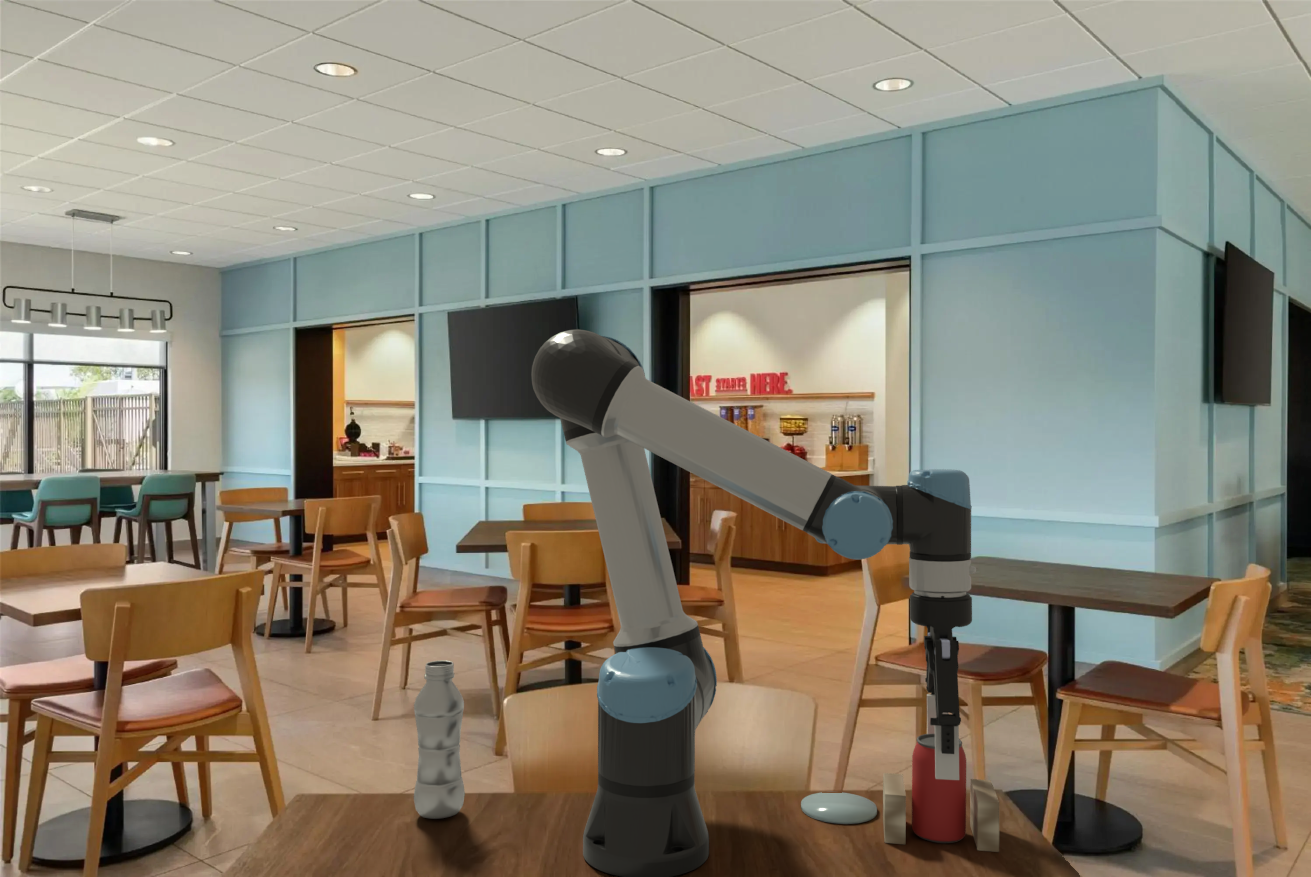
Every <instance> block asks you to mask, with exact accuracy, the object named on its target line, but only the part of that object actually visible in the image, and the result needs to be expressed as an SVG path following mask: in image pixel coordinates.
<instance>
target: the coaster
mask: <svg viewBox="0 0 1311 877" xmlns="http://www.w3.org/2000/svg"><path fill="white" fill-rule="evenodd" d="M800 809H801V811H802V813H804V814H805V815H806V816H808V817H809V818H812V819H814V820H817V821H820V822H824V823H830V824H837V825H838V824H839V825H855V824H862V823H865V822H868V821H871V820H873V819H874V818H876V816H877V815H878V807H877V805H876V803H875V802H873V801H872V800H870V799H869V798H866V797H864V796H862V795H858V794H853V793H849V792H842V793H822V792H817V793H812V794H809V795H806V796H805V797H803V798H802V800H801V802H800Z"/></svg>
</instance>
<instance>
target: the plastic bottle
mask: <svg viewBox="0 0 1311 877" xmlns="http://www.w3.org/2000/svg"><path fill="white" fill-rule="evenodd" d="M454 665H455V664H454V662H453V661H452V660H451V661H450V660H432V661H430V662H429V661H428V662H426V663H425V665H424V666H425V669H424V670H425V671H424V676H423V677H424V679H425V680H426V683H425V684H424V685H423V686H422V688H421V690H419V693H418V694H417V696H416V697H415V700H414V703H413V711H414V718H415V719H414V720H415V726H416V731H417V732H416V733H417V745H418V750H417V751H418V758H417V775H416V780H415V786H414V791H413V792H414V793H413V802H414V808H415V811H416V812H417V813H418V814H419V816H420V817H422V818H426V819H434V820H437V819H439V820H440V819H444V818H445V819H446V818H449V817H452V816H455V815H457V814H458V813H460V811H461V809H462V808H463V806H464V800H465V794H466V792H465V784H464V779H463V777H462V766H461V763H462V762H461V754H460V752H461V749H460V748H461V745H460V743H461V733H462V731H461V730H462V724H463V714H464V709H465V701H464V698H463V695H462V693H461V691H460V690H459V688H458V687H457V685H456V684H455V683H454V681H453V679H454V678H455V670H454V669H455V666H454Z"/></svg>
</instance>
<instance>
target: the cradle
mask: <svg viewBox="0 0 1311 877" xmlns="http://www.w3.org/2000/svg"><path fill="white" fill-rule="evenodd" d="M882 775H883V776H882V781H883V782H882V824H883V825H882V826H883V837H884V838H883V839H884V843H885V844H896V845H906V826H907V824H906V822H907V817H906V816H907V814H906V813H907V812H906V811H907V807H906V806H907V803H906V802H907V800H906V799H907V795H906V794H907V793H906V789H905V788H906V787H905V780H904V774H902V773H889V772H883V773H882ZM995 790H996V789H995V788H994V785H993V783H992V780H989V779H975V778H970V791H969V792H970V795H969V798H970V799H969V800H970V801H969V802H970V803H969V804H970V806H969V807H970V809H969V810H970V811H969V812H970V814H969V816H970V817H969V827H970V830H971V833H972V835H973V837H972V838H973V840H974V843H975V847H976V850H977V851H983V852H993V853H994V852H995V853H1000V801H999V798H998V795H997V793H996V791H995Z"/></svg>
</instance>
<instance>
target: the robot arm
mask: <svg viewBox="0 0 1311 877" xmlns="http://www.w3.org/2000/svg"><path fill="white" fill-rule="evenodd" d="M531 384H532V388H533V391H534V393H535V396H536V398H537V399H538V401H539V402H540V404H541V405H542V406H543V407H544V408H545V409H546V410H547V411H548V412H550V413H551V414H552V415H554V416H556V417H558V418H560V422H561V423H560V424H561V427H562V431H563V437H564V440H565V443H566V445H567V446H568V447H570V448H572V449H573V450H575V451H576V452H578V454H579V455H580V458H581V463H582V467H583V471H584V475H585V480H586V484H587V487H588V491H589V492H588V493H589V497H590V500H591V505H592V509H593V514H594V519H595V522H596V525H597V530H598V534H599V540H600V542H601V547H602V552H603V555H604V561H605V564H606V569H607V573H608V577H609V582H610V585H611V590H612V594H613V598H614V603H615V606H616V607H615V608H616V611H617V616H618V620H619V623H620V628H619V631H618V633H617V635H616V637H615V638H614V640H613V641H612V644H613V648H614V652H615V654H613V655H611V656H609V657H608V658H607V659H606V660H605V661H603V663H602V665H601V666H600V669H599V675H598V683H597V687H596V698H597V772H598V773H597V790H596V793H595V796H594V799H593V802H592V805H591V809H590V812H589V814H588V815H589V816H588V818H587V821H586V824H585V827H584V831H583V836H582V855H583V856H582V857H583V858H584V860H585V861H586V863H588V864H589V865H590V866H591V867H593V868H594V869H596V870H598V871H601V872H603V873H606V874H609V875H613V876H617V877H677V876H679V875H684V874H687V873H689V872H691V871H693V870H696V869H697V868H700V867H701V866H702V865H703V864H705V862H706V861H707V860H708V857H709V854H710V844H709V843H710V836H709V835H710V834H709V831H708V828H707V824H706V822H705V817H704V814H703V812H702V808H701V805H700V801H699V799H698V795H697V792H696V787H695V786H696V784H695V783H696V782H695V781H696V780H695V776H696V775H695V771H696V770H695V768H696V765H695V764H696V762H695V761H696V760H695V759H696V758H695V754H696V744H695V743H696V730H697V728H698V726H699V725H700V723H701V722H702V720H703V718H704V717H705V716H706V715H707V713H708V712H709V709H710V708H711V706H712V705H713V702H714V700H715V696H716V692H717V685H718V684H717V683H718V682H717V680H718V678H717V671H716V667H715V663H714V661H713V658H712V656H711V655H710V653H709V652H708V650H707V649H706V648H705V647H704V644H703V639H702V637H701V631H700V627H699V623H698V621H697V620H696V619H694V618H692V617H691V616H690V615H687V614H686V613H685V612H684V609H683V605H682V602H681V600H682V599H681V596H680V592H679V588H678V585H677V580H676V576H675V572H674V566H673V563H672V559H671V555H670V551H669V547H668V543H667V542H668V541H667V538H666V533H665V530H664V526H663V522H662V516H661V514H660V508H659V505H658V501H657V496H656V492H655V491H656V490H655V488H654V484H653V479H652V476H651V472H650V467H649V462H648V459H647V455H646V454H647V453H646V450H647V451H649V452H651V453H653V454H654V455H656V456H659V457H661V458H663V459H664V460H666V461H668V462H669V463H672V464H674V465H676V466H678V467H679V468H682V469H684V470H685V471H687V472H690V473H692V474H693V475H694V476H697V477H698V478H701V479H703V480H704V481H706V482H709V483H710V484H711V485H714V486H716V487H718V488H720V489H722V490H724V491H725V492H728V493H729V494H731V495H733V496H736V497H738V498H739V499H741V500H743V501H745V502H747V503H749V504H751V505H753V506H755V507H757V508H758V509H760V510H762V511H764V512H767V513H768V514H770V515H773V516H774V517H775V518H778V519H779V520H782V521H784V522H785V523H787V524H790V525H791V526H793V527H795V528H796V529H798V530H801V531H803V532H805V533H807V534H808V535H809V536H811V537H813V538H815V540H816V542H817V543H820V544H826V545H828V546H829V547H830V548H831V550H832V551H834V552H835V553H837V555H840V556H842V557H844V558H845V559H846V558H847V559H851V560H865V559H869V558H872V557H874V556H876V555H877V554H879V553H880V552H881V551H882V550H883V549H884V548H885V546H887V545H897V546H899V545H900V546H901V545H908V546H909V557H908V564H909V565H908V566H909V568H908V572H909V573H908V574H909V575H908V577H909V578H908V579H909V581H908V582H909V584H908V585H909V588H910V589H911V590H913V592H912V593H911V594H909V611H910V612H909V613H910V614H909V618H910V619H909V620H910V621H911V622H912V623H914V624H915V625H918V626H922V627H926V628H927V629H926V630H927V631H926V632H927V634H926V635H924V636H923V647H924V650H925V662H926V671H925V673H926V676H925V678H924V680H925V683H926V691H927V694H926V723H927V724H926V727H927V728H926V734H935V778H936V779H946V780H959V739H960V728H959V726H961V722H962V718H961V717H960V716H961V713H960V697H959V696H960V695H959V678H958V677H959V676H958V673H959V658H958V657H959V656H958V655H959V652H960V646H959V645H960V642H959V640H957V639H958V638H957V636H953V629H954V628H963V627H968V626H969V625H971V623H972V622H973V597H972V596H971V594H969V593H968V592H969V591H970V590H971V589H972V577H971V574H973V575H974V574H976V573H977V568H976V566H974V565H971V564H972V559H971V558H972V504H971V503H972V502H971V487H970V486H971V485H970V478H969V475H967V473H966V472H964V471H962V470H960V469H937V468H936V469H935V468H934V469H913V470H911V471H910V472H909V474H908V480H907V482H906V483H907V484H901V485H893V486H892V485H855V484H853V483H850V482H849V481H847V480H846V479H844V478H841V477H838V476H836V475H834V474H833V473H831V472H830V471H827V470H825V469H823V468H821V467H819V466H817V465H816V464H813V463H811V462H809V461H808V460H806V459H803V458H801V457H800V456H797V455H795V454H793V453H792V452H790V451H788V450H786V449H784V448H782V447H780V446H778V445H776V444H774V443H772V442H770V441H769V440H767V439H764V438H762V437H761V436H759V435H757V434H755V433H752V432H751V431H749V430H747V429H745V428H744V427H741V426H739V425H738V424H735V423H733V422H731V421H729V420H727V419H726V418H723V417H721V416H719V415H718V414H716V413H714V412H712V411H709V410H708V409H706V408H704V407H702V406H699V405H698V404H696V403H694V402H692V401H690V400H688V399H686V398H684V397H682V396H680V395H678V394H676V393H675V392H672V391H670V390H669V389H667V388H664V387H663V386H661V385H659V384H657V383H654V382H653V381H651V380H649V379H648V378H646V374H645V370H644V367H643V365H642V363H641V361H640V359H639V358H638V357H637V355H636V354H635V353H634V351H632V349H631V348H630V347H628V346H627V345H626V344H624V343H623V342H621V341H620V340H618V339H616V338H612V337H609V336H605V335H601V334H598V333H596V332H594V331H589V330H585V329H579V328H577V329H569V330H565V331H561V332H559V333H557V334H555V335H553V336H551V337H550V338H549V339H548V340H546V341H545V342H544V343H543V344H542V346H540V348H539V349H538V351H537V353H536V354H535V357H534V359H533V362H532V365H531Z"/></svg>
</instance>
